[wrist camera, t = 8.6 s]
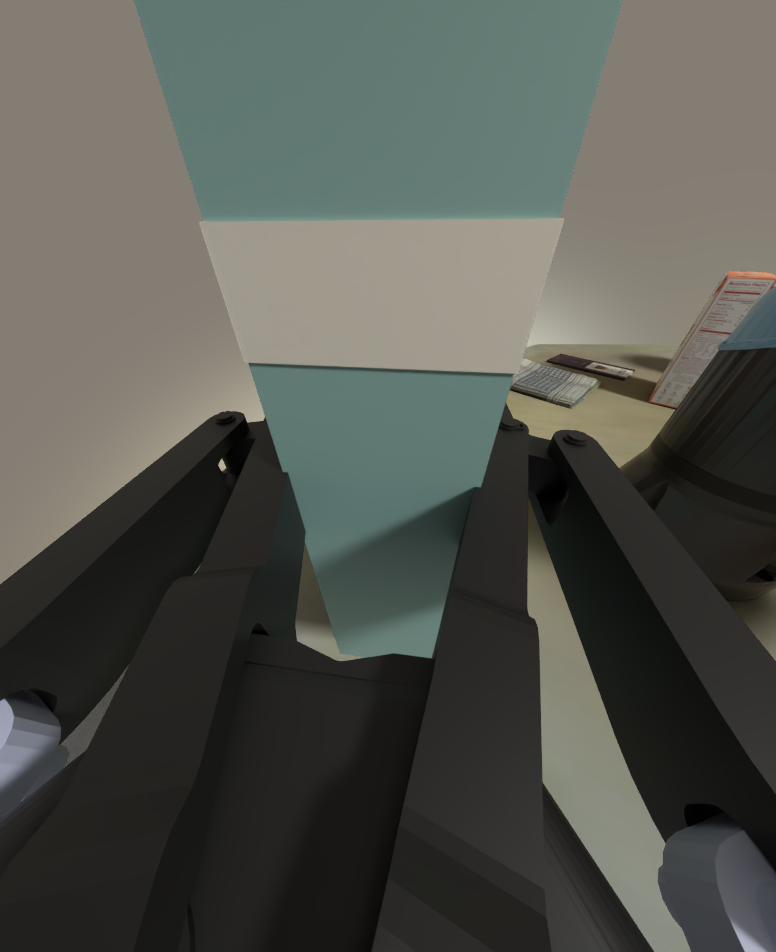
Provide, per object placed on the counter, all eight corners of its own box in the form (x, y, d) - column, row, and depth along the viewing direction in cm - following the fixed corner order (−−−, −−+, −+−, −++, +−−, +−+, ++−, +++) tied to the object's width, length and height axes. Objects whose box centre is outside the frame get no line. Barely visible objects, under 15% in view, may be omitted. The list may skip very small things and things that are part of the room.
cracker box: (654, 383, 63) (726, 270, 50) (688, 391, 60) (774, 272, 47) (644, 402, 55) (727, 273, 42) (683, 412, 52) (785, 275, 39)
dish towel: (571, 412, 53) (578, 396, 51) (487, 386, 63) (491, 371, 61) (600, 387, 63) (607, 373, 61) (524, 368, 73) (528, 355, 71)
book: (430, 525, 23) (485, 163, 10) (429, 667, 15) (664, -113, 2) (369, 519, 23) (347, 168, 10) (339, 654, 16) (111, -49, 3)
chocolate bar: (560, 353, 79) (634, 370, 69) (559, 357, 80) (632, 373, 70) (547, 360, 74) (624, 378, 64) (546, 363, 75) (622, 382, 65)
